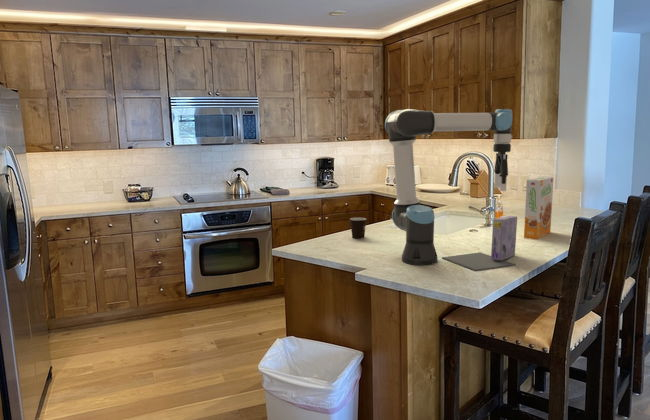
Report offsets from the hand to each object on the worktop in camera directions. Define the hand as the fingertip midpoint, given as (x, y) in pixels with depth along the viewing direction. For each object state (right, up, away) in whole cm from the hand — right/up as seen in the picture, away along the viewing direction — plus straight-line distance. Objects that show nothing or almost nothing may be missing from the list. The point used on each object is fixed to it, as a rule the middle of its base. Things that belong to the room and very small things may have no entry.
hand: (499, 189), depth 234 cm
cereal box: (+31, -23, +31) cm, 49 cm away
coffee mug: (-63, -24, +32) cm, 75 cm away
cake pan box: (-4, -31, -16) cm, 35 cm away
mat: (-17, -32, -21) cm, 42 cm away
